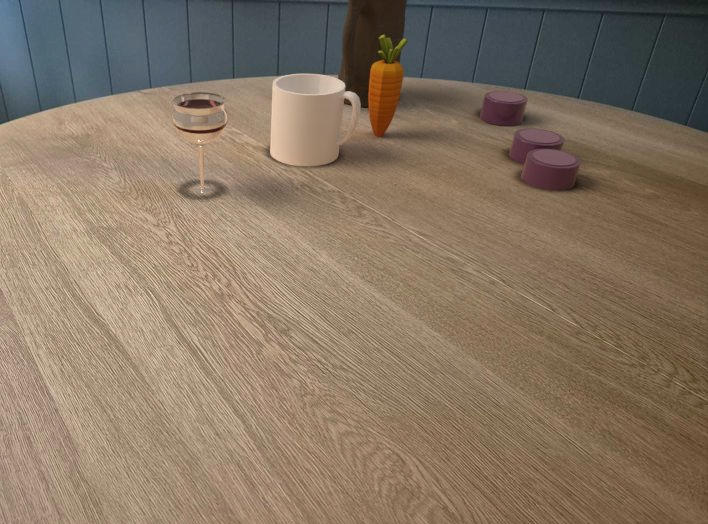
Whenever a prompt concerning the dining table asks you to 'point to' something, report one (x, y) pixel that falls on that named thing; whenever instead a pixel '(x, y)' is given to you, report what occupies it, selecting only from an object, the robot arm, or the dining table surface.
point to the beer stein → (368, 41)
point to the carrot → (385, 86)
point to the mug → (309, 119)
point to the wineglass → (200, 122)
